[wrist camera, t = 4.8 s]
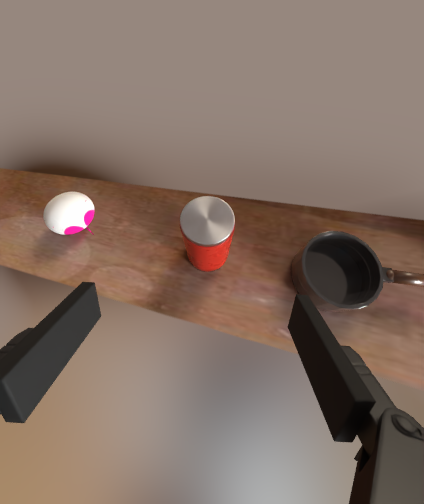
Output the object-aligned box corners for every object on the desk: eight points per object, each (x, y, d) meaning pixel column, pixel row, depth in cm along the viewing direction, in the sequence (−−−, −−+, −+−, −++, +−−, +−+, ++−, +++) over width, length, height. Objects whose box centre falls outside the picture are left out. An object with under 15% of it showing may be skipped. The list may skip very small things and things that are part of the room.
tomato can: (235, 251, 36) (247, 216, 25) (210, 280, 34) (210, 256, 24) (205, 228, 38) (204, 185, 27) (179, 255, 36) (167, 221, 25)
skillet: (374, 271, 35) (396, 263, 31) (340, 328, 32) (360, 327, 28) (313, 230, 38) (327, 217, 33) (277, 279, 35) (286, 271, 30)
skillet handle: (375, 282, 32) (384, 279, 30) (373, 269, 32) (382, 265, 31) (433, 290, 31) (446, 288, 30) (430, 277, 32) (443, 274, 30)
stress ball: (80, 249, 39) (73, 253, 33) (40, 215, 36) (25, 213, 30) (112, 221, 41) (112, 220, 35) (77, 187, 38) (70, 179, 32)
